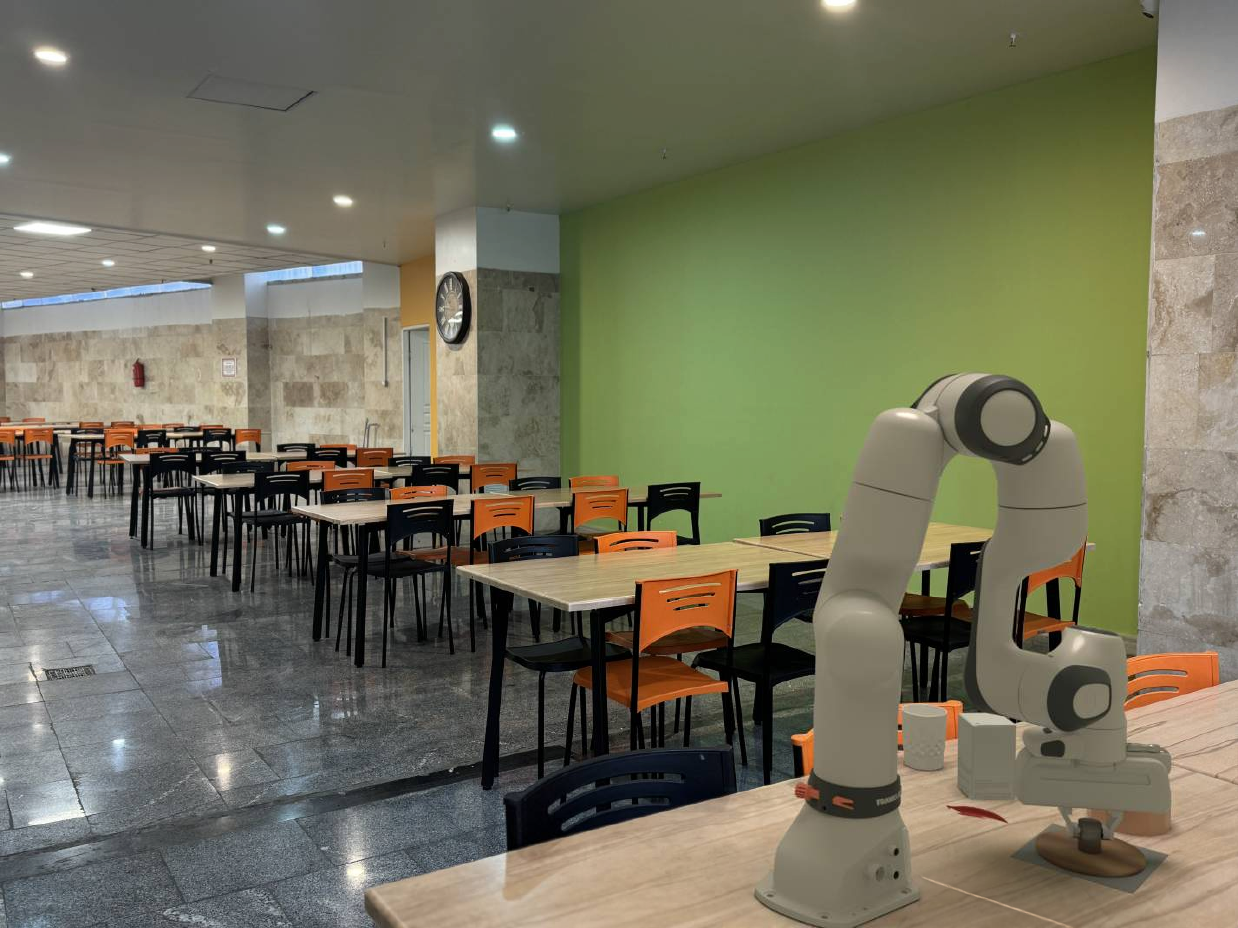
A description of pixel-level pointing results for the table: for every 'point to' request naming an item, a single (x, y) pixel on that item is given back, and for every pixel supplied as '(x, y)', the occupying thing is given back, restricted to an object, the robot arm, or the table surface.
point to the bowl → (1136, 822)
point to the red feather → (977, 812)
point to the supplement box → (986, 756)
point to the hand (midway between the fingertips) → (1089, 837)
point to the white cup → (924, 736)
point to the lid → (1090, 852)
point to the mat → (1124, 884)
